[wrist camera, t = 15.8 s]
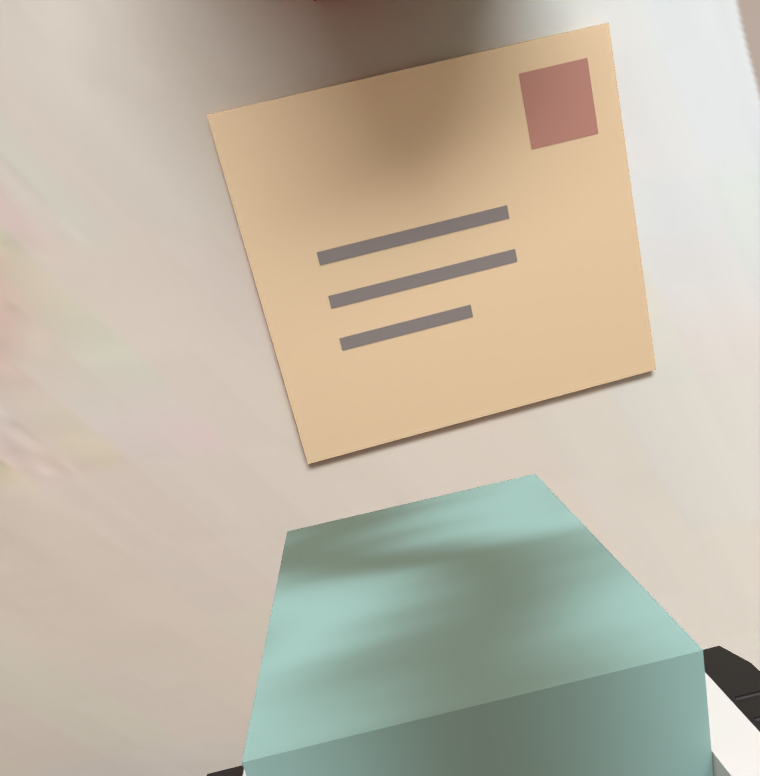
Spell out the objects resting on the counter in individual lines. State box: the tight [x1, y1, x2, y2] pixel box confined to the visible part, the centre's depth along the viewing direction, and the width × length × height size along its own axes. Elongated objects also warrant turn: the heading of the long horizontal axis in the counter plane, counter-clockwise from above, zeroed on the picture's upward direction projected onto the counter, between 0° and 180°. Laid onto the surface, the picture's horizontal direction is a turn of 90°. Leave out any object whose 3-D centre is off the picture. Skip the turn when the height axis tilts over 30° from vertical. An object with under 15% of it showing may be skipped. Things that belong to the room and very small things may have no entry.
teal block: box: [242, 474, 714, 776], centre depth 10 cm, size 6×6×6 cm
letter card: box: [207, 23, 656, 464], centre depth 25 cm, size 18×16×1 cm
